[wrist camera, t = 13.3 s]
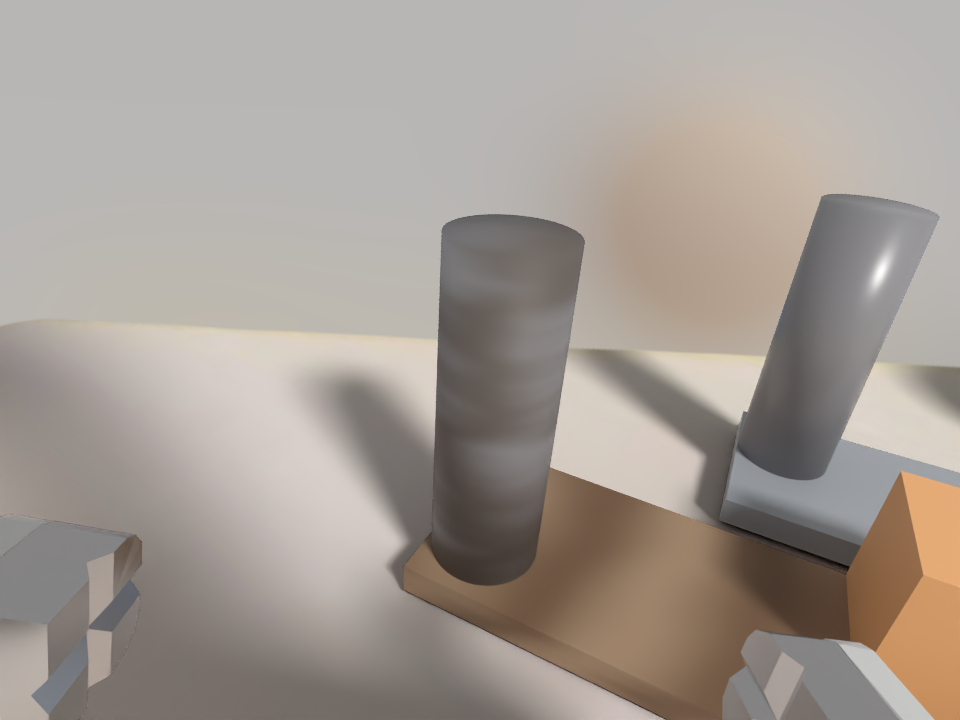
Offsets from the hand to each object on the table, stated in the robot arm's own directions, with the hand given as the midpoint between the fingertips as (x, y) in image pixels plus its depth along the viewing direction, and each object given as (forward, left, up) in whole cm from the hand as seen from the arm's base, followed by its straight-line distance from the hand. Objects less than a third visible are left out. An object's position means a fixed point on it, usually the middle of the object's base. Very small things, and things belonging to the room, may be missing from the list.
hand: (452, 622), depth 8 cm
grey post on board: (+5, +12, -11) cm, 17 cm away
